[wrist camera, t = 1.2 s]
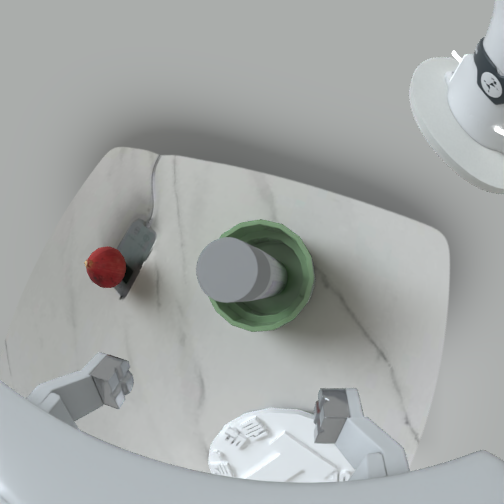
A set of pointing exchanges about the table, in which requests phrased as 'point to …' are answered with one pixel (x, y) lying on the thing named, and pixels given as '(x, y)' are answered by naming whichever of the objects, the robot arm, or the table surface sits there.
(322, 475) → the giant coin
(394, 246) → the table surface
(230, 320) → the green faceted pot
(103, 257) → the onion
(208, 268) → the container
